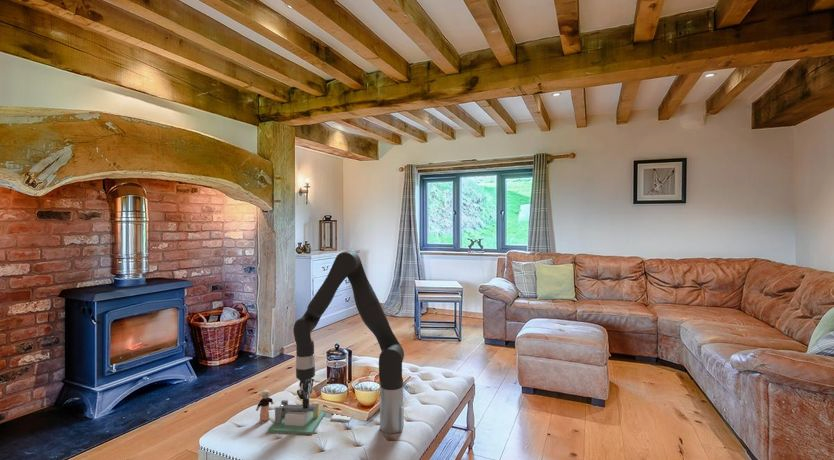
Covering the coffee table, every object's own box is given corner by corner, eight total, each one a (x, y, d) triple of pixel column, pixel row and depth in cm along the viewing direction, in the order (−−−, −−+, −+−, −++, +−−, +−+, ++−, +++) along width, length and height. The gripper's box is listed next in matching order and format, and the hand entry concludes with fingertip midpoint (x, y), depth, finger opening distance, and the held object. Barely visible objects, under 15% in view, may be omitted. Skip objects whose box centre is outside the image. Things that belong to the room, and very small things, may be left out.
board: (325, 414, 166) (325, 396, 166) (312, 434, 150) (312, 415, 150) (285, 412, 168) (285, 395, 168) (267, 432, 152) (267, 413, 152)
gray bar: (317, 408, 160) (317, 403, 160) (313, 413, 156) (313, 407, 156) (281, 407, 162) (281, 402, 162) (277, 412, 158) (277, 406, 158)
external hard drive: (358, 409, 172) (349, 423, 160) (341, 407, 174) (330, 421, 161) (358, 405, 172) (349, 419, 160) (341, 404, 174) (330, 417, 161)
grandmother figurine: (261, 425, 157) (261, 394, 157) (254, 423, 159) (254, 392, 159) (276, 416, 164) (275, 387, 164) (269, 414, 166) (269, 385, 165)
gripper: (308, 371, 151) (308, 415, 152) (319, 359, 165) (320, 399, 165) (289, 371, 152) (290, 414, 152) (302, 359, 165) (303, 399, 166)
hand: (306, 406), depth 159 cm, fingers closed
